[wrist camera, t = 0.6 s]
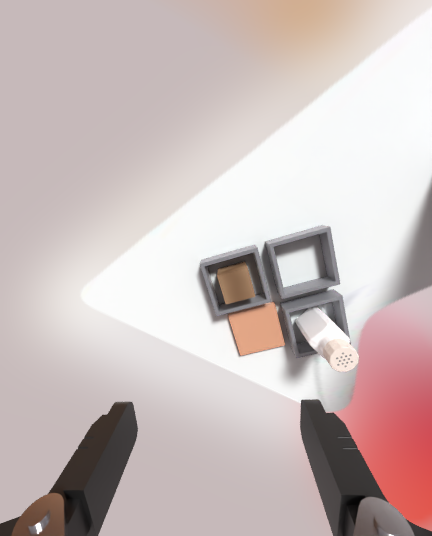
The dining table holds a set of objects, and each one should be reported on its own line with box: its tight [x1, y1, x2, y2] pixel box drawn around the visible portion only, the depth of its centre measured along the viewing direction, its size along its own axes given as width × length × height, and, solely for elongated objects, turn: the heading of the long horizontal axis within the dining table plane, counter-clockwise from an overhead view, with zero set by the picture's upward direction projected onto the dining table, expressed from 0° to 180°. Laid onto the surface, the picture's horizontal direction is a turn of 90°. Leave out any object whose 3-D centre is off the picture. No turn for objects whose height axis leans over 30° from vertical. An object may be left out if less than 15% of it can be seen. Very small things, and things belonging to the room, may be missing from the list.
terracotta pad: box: [228, 302, 285, 356], centre depth 34 cm, size 7×7×1 cm
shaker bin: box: [280, 289, 351, 358], centre depth 33 cm, size 8×8×2 cm
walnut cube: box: [217, 261, 256, 304], centre depth 31 cm, size 4×4×4 cm
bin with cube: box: [200, 245, 271, 316], centre depth 32 cm, size 8×8×2 cm
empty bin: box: [265, 225, 340, 299], centre depth 31 cm, size 8×8×2 cm
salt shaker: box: [295, 306, 359, 372], centre depth 29 cm, size 4×4×10 cm
